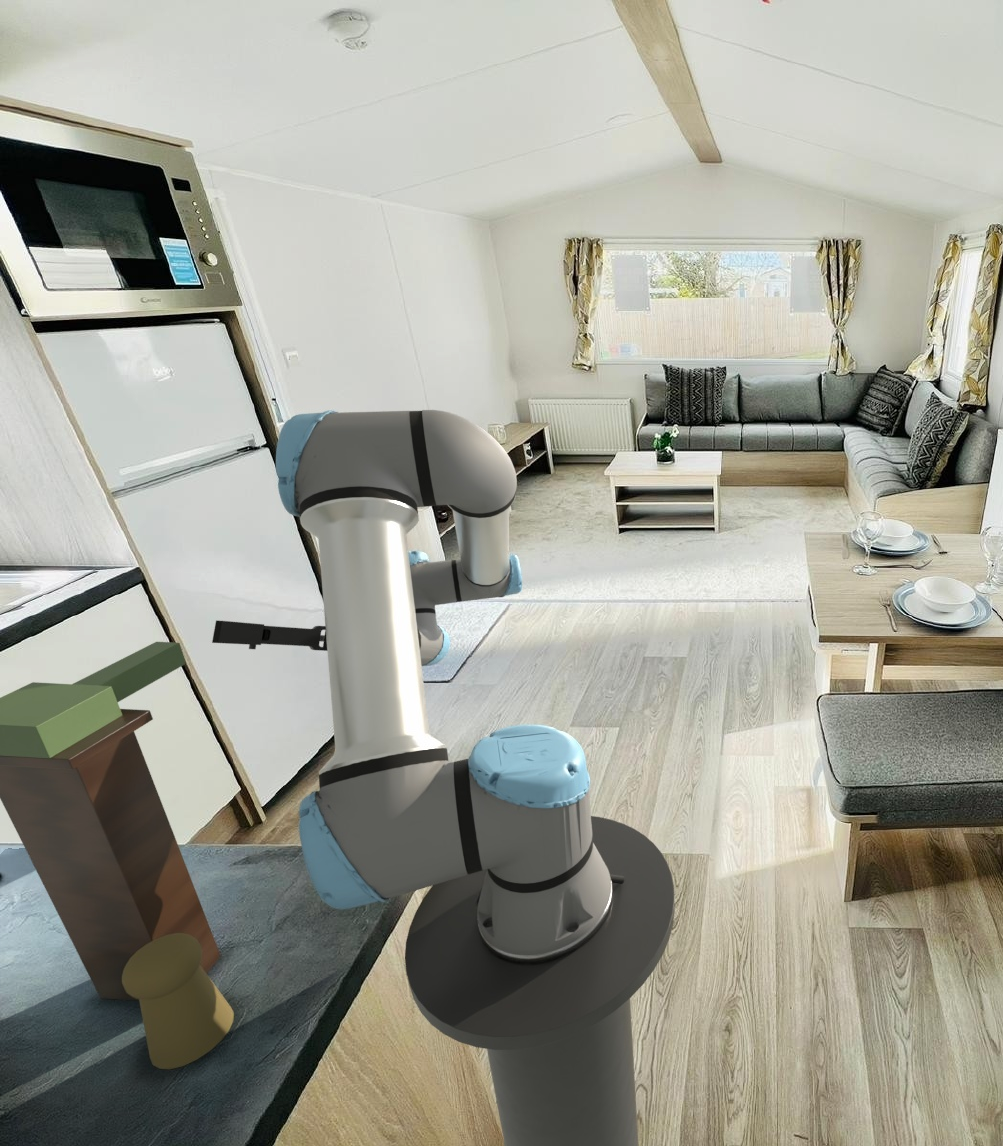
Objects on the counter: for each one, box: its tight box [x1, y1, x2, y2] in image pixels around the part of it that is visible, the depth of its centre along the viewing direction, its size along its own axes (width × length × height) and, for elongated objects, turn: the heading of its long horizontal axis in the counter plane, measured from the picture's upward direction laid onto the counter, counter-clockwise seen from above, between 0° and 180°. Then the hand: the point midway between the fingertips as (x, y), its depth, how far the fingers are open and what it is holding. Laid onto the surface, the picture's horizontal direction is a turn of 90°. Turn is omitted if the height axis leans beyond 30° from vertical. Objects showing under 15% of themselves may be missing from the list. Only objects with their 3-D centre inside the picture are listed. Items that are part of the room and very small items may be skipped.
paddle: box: [0, 641, 187, 758], centre depth 57 cm, size 7×15×3 cm, turn 178°
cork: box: [122, 933, 235, 1070], centre depth 58 cm, size 6×6×11 cm
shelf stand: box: [0, 708, 222, 1002], centre depth 60 cm, size 10×7×30 cm
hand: (271, 634), depth 77 cm, fingers open, 13 cm apart
